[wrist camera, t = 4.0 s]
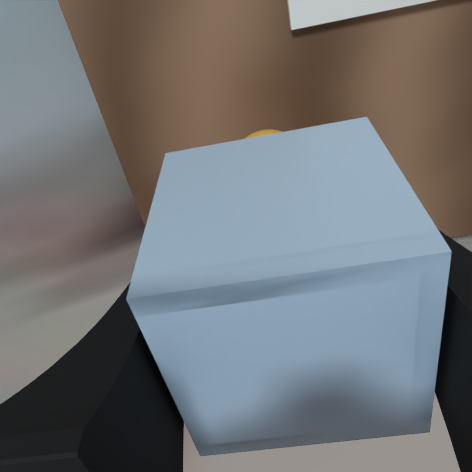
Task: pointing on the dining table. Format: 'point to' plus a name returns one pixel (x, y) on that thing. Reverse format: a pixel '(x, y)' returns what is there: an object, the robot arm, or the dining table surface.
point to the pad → (338, 10)
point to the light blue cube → (292, 290)
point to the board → (283, 84)
